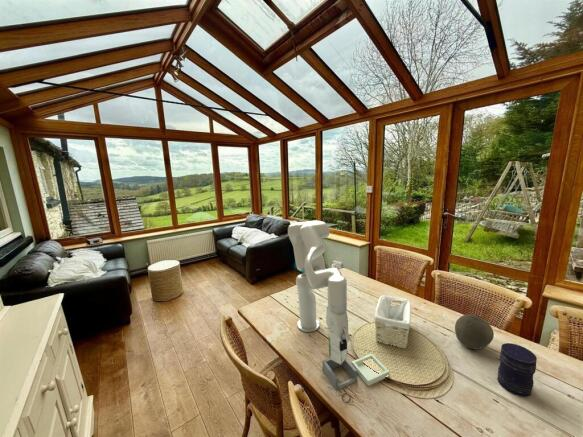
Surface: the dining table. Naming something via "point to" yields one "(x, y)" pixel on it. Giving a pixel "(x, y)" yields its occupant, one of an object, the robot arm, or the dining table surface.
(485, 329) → the grey oval rock
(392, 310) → the storage basket
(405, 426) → the dining table surface
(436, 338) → the dining table surface
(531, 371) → the storage jar
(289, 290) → the dining table surface
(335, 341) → the syrup box
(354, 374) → the bay
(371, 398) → the dining table surface
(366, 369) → the tray
